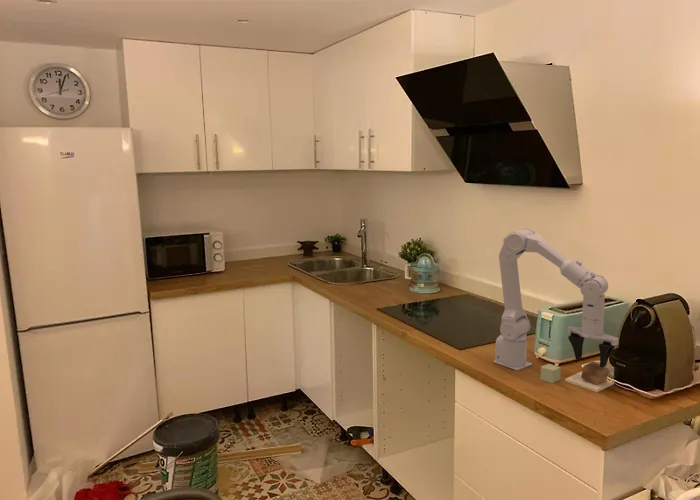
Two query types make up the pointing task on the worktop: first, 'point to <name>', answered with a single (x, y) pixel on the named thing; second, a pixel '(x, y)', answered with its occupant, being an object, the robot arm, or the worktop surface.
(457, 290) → the worktop surface
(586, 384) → the plate
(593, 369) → the walnut brick
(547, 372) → the sage brick
